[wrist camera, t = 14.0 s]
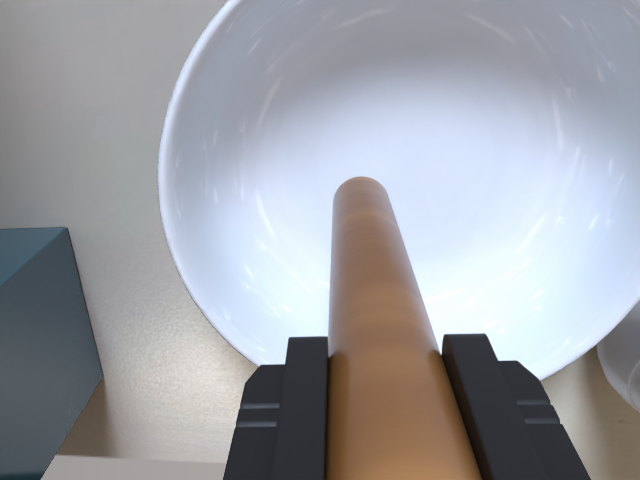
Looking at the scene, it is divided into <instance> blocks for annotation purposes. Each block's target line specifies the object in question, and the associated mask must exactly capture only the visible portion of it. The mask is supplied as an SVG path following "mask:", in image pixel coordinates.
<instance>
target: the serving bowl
mask: <svg viewBox="0 0 640 480" xmlns="http://www.w3.org/2000/svg"><path fill="white" fill-rule="evenodd" d="M359 176H364V177H370V178H372V179H375V180H376V181H378V182H379V183H380V184H382V185H383V187H384V188H385V189H386V191H387V193H388V196H389V199H390V202H391V205H392V208H393V211H394V214H395V217H396V220H397V223H398V226H399V229H400V232H401V235H402V238H403V241H404V244H405V247H406V250H407V253H408V256H409V259H410V262H411V265H412V268H413V271H414V274H415V277H416V280H417V283H418V286H419V289H420V292H421V295H422V298H423V301H424V304H425V307H426V310H427V313H428V316H429V319H430V322H431V326H432V329H433V332H434V335H435V338H436V341H437V344H438V347H439V350H440V353H441V355H442V341H443V336H444V334H473V333H485V334H486V335H487V336H488V338H489V341H490V343H491V345H492V348H493V350H494V352H495V354H496V357H497V359H498V361H512V360H517V361H518V362H520V363H521V364H522V365H523V366H524V367H525V368H527V369H528V370H529V371H530V372H531V373H532V374H534V375H535V376H536V377H537V378H538V379H539V381H541V380H543V379H545V378H547V377H549V376H551V375H553V374H554V373H556V372H558V371H560V370H561V369H563V368H564V367H566V366H567V365H569V364H571V363H572V362H574V361H575V360H577V359H578V358H579V357H581V356H582V355H583V354H585V353H586V352H587V351H589V350H590V349H591V348H593V347H594V346H595V345H596V344H597V343H599V342H600V341H601V340H602V339H603V338H604V337H606V336H607V335H608V334H609V333H610V332H611V331H612V330H613V329H614V328H615V327H616V326H617V325H618V324H619V323H620V322H621V321H622V320H623V319H624V317H625V316H626V315H627V314H628V313H629V312H630V311H631V310H632V308H633V307H634V306H635V305H636V304H637V302H638V301H639V300H640V0H228V1H227V2H226V3H225V4H224V5H223V7H222V8H221V9H220V10H219V11H218V13H217V14H216V15H215V16H214V17H213V19H212V20H211V22H210V23H209V24H208V26H207V27H206V28H205V30H204V31H203V33H202V34H201V36H200V37H199V39H198V41H197V42H196V44H195V46H194V47H193V49H192V51H191V52H190V54H189V56H188V58H187V60H186V62H185V64H184V66H183V68H182V70H181V73H180V75H179V78H178V80H177V82H176V85H175V87H174V90H173V92H172V95H171V99H170V102H169V105H168V108H167V112H166V116H165V120H164V124H163V128H162V133H161V138H160V145H159V156H158V171H157V177H158V196H159V208H160V214H161V220H162V225H163V229H164V233H165V238H166V241H167V244H168V248H169V251H170V253H171V256H172V259H173V261H174V263H175V266H176V268H177V271H178V273H179V275H180V277H181V279H182V281H183V283H184V285H185V287H186V289H187V291H188V292H189V294H190V296H191V298H192V299H193V301H194V302H195V304H196V305H197V307H198V308H199V309H200V311H201V312H202V313H203V315H204V316H205V317H206V319H207V320H208V321H209V322H210V324H211V325H212V326H213V327H214V328H215V329H216V330H217V332H218V333H219V334H220V335H221V336H222V337H223V338H224V339H225V340H226V341H227V342H228V343H229V344H230V345H231V346H232V347H233V348H234V349H236V350H237V351H238V352H239V353H240V354H241V355H243V356H244V357H245V358H247V359H248V360H249V361H250V362H252V363H253V364H254V365H256V366H257V367H259V366H260V365H268V364H285V360H286V353H287V346H288V339H289V337H308V336H327V337H328V321H329V293H330V265H331V238H332V210H333V198H334V195H335V192H336V191H337V189H338V188H339V186H340V185H341V184H342V183H344V182H345V181H347V180H348V179H351V178H354V177H359Z"/></svg>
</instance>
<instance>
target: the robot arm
mask: <svg viewBox="0 0 640 480" xmlns="http://www.w3.org/2000/svg"><path fill="white" fill-rule="evenodd" d="M441 356H442V359H443V362H444V365H445V368H446V371H447V374H448V377H449V380H450V383H451V386H452V389H453V392H454V395H455V398H456V401H457V404H458V407H459V410H460V413H461V416H462V419H463V422H464V425H465V428H466V431H467V434H468V437H469V440H470V443H471V446H472V449H473V452H474V455H475V458H476V461H477V464H478V467H479V470H480V473H481V476H482V479H483V480H591V479H590V477H589V475H588V473H587V471H586V469H585V467H584V465H583V463H582V461H581V459H580V457H579V455H578V454H577V452H576V450H575V448H574V446H573V444H572V442H571V440H570V438H569V436H568V434H567V432H566V430H565V429H564V427H563V425H562V424H560V419H559V417H558V415H557V413H556V411H555V409H554V407H553V406H552V405H550V400H549V398H548V396H547V394H546V392H545V390H544V388H543V386H542V384H541V382H540V381H539V379H538V378H537V377H536V376H535V375H534V374H532V373H531V372H530V371H529V370H528V369H527V368H525V367H524V366H523V365H522V364H521V363H520V362H518V361H517V360H512V361H498V359H497V357H496V354H495V352H494V350H493V348H492V345H491V343H490V341H489V338H488V336H487V335H486V334H485V333H473V334H444V336H443V341H442V355H441ZM328 367H329V352H328V337H327V336H308V337H289V339H288V346H287V353H286V360H285V364H268V365H260V366H259V367H258V369H257V370H256V371H255V372H254V373H253V375H252V376H251V377H250V378H249V379H248V381H247V382H246V383H245V387H244V391H243V395H242V400H241V404H240V409H239V412H238V417H237V421H236V428H235V430H234V434H233V438H232V443H231V447H230V451H229V456H228V460H227V464H226V469H225V473H224V477H223V480H325V471H326V436H327V402H328Z"/></svg>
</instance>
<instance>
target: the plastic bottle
mask: <svg viewBox="0 0 640 480" xmlns="http://www.w3.org/2000/svg"><path fill="white" fill-rule="evenodd" d="M597 355H598V358H599V361H600V364H601V366H602V369H603V371H604V374H605V376H606V379H607V380H608V382H609V383H610V385H611V386H612V387H613V388H614V389H615V391H616V392H617V393H618V394H619V395H620V396H621V397H622V398H623V399H624V400H625V401H626V402H627V403H628V404H629V405H631V406H632V407H633V408H634V409H635V410H636V411H638V412H639V413H640V300H639V301H638V302H637V304H636V305H635V306H634V307H633V308H632V310H631V311H630V312H629V313H628V314H627V315H626V316H625V317H624V319H623V320H622V321H621V322H620V323H619V324H618V325H617V326H616V327H615V328H614V329H613V330H612V331H611V332H610V333H609V334H608V335H607V336H606V337H604V338H603V339H602V340H601V341H600V342H599V343H597Z"/></svg>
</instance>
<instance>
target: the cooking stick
mask: <svg viewBox="0 0 640 480" xmlns="http://www.w3.org/2000/svg"><path fill="white" fill-rule="evenodd" d="M328 352H329V367H328V402H327V436H326V471H325V480H483V479H482V476H481V473H480V470H479V467H478V464H477V461H476V458H475V455H474V452H473V449H472V446H471V443H470V440H469V437H468V434H467V431H466V428H465V425H464V422H463V419H462V416H461V413H460V410H459V407H458V404H457V401H456V398H455V395H454V392H453V389H452V386H451V383H450V380H449V377H448V374H447V371H446V368H445V365H444V362H443V359H442V356H441V353H440V350H439V347H438V344H437V341H436V338H435V335H434V332H433V329H432V326H431V322H430V319H429V316H428V313H427V310H426V307H425V304H424V301H423V298H422V295H421V292H420V289H419V286H418V283H417V280H416V277H415V274H414V271H413V268H412V265H411V262H410V259H409V256H408V253H407V250H406V247H405V244H404V241H403V238H402V235H401V232H400V229H399V226H398V223H397V220H396V217H395V214H394V211H393V208H392V205H391V202H390V199H389V196H388V193H387V191H386V189H385V188H384V187H383V185H382V184H380V183H379V182H378V181H376V180H375V179H372V178H370V177H364V176H359V177H354V178H351V179H348V180H347V181H345V182H344V183H342V184H341V185H340V186H339V188H338V189H337V191H336V192H335V195H334V198H333V210H332V238H331V265H330V293H329V321H328Z"/></svg>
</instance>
